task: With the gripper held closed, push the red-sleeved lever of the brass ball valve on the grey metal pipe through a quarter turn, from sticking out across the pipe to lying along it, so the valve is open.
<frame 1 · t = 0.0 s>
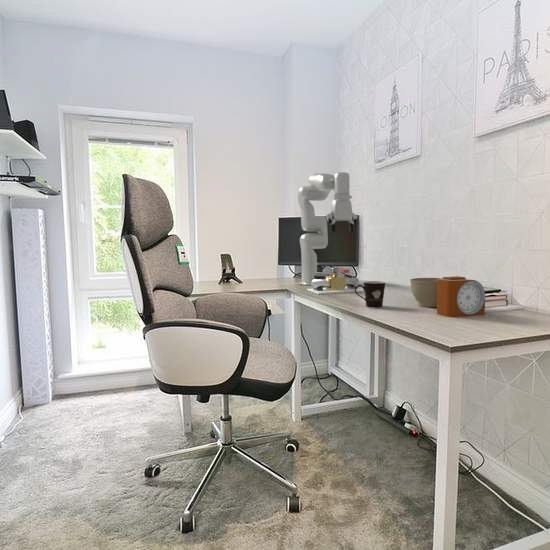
hand: (341, 232, 191), 31 cm above the table, tool pointing down, fingers open, 9 cm apart
alarm clock: (459, 314, 137), on the table
planter bowl: (430, 306, 155), on the table
coffee mug: (370, 306, 156), on the table
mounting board: (336, 291, 203), on the table
valve lever: (339, 270, 198), point 12 cm above the table, hinge at 0.0°
electrical switch: (322, 288, 217), on the table
valve pipe: (335, 290, 204), resting on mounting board
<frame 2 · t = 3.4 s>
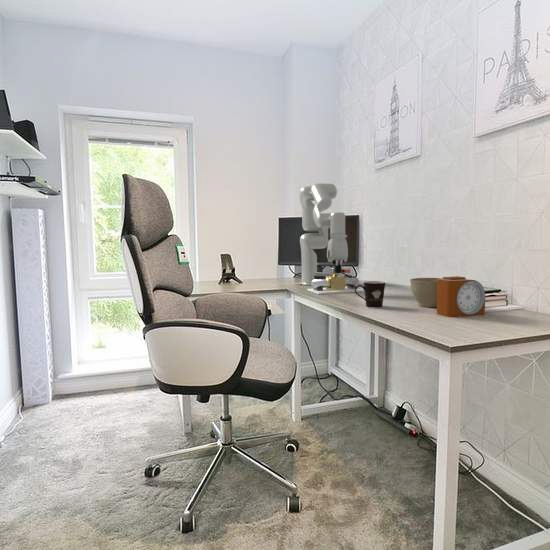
hand: (337, 273, 193), 11 cm above the table, tool pointing down, fingers closed
valve lever: (340, 270, 198), point 12 cm above the table, hinge at 2.6°, touching gripper
everything else where it was.
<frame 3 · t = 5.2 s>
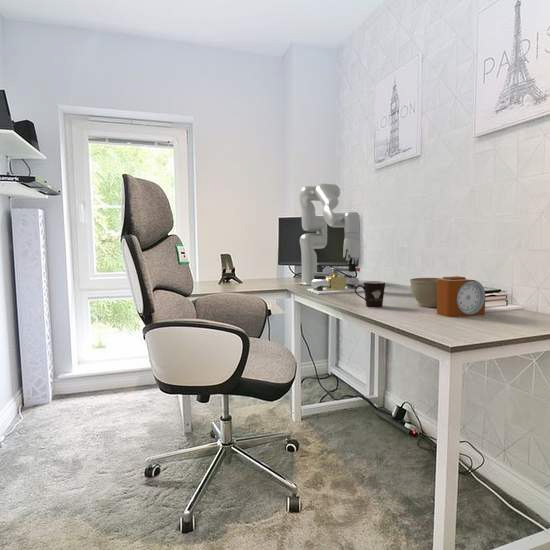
hand: (352, 271, 198), 11 cm above the table, tool pointing down, fingers closed
valve lever: (345, 269, 202), point 12 cm above the table, hinge at 59.6°, touching gripper
everything else where it was.
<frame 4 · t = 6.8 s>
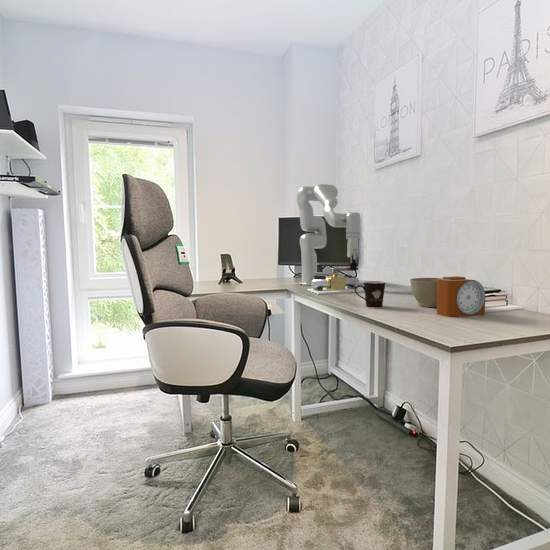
hand: (353, 270, 203), 11 cm above the table, tool pointing down, fingers closed
valve lever: (344, 269, 205), point 12 cm above the table, hinge at 91.6°, touching gripper
everything else where it was.
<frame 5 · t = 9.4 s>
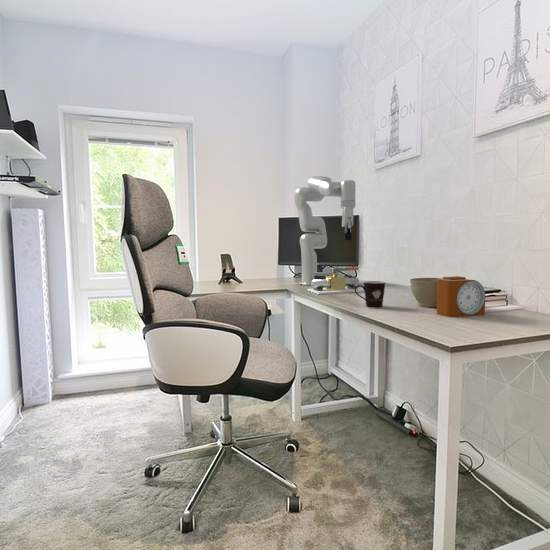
hand: (348, 240, 198), 27 cm above the table, tool pointing down, fingers closed
valve lever: (344, 269, 205), point 12 cm above the table, hinge at 91.7°
everything else where it was.
at the end: valve lever at +92° (first picture: +0°); valve lever touching nothing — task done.
